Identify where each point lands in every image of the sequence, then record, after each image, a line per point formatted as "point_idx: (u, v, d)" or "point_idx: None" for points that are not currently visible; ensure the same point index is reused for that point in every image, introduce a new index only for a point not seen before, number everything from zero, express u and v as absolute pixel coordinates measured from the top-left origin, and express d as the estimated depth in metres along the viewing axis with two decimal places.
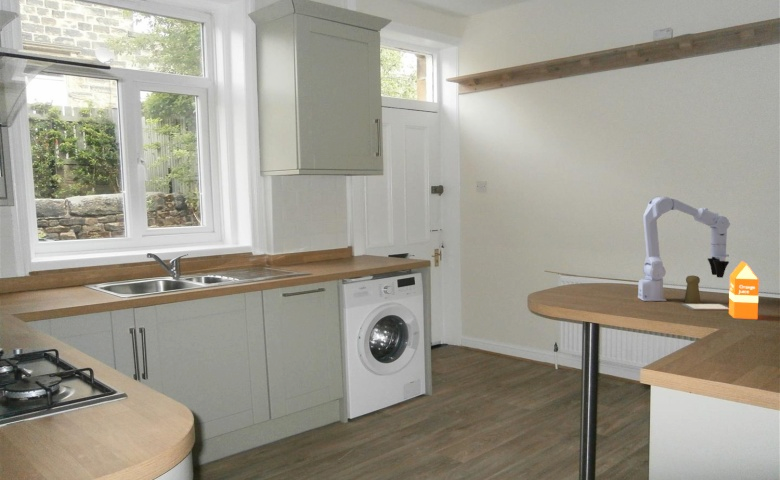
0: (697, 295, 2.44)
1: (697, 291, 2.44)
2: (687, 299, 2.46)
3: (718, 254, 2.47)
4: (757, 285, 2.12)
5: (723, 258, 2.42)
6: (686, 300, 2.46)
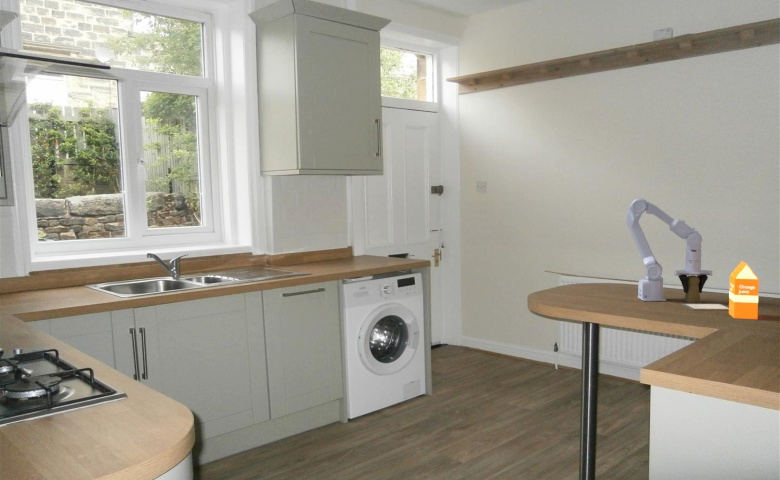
0: (697, 295, 2.44)
1: (697, 291, 2.44)
2: (687, 299, 2.46)
3: None
4: (757, 285, 2.12)
5: (675, 272, 2.46)
6: (686, 300, 2.46)
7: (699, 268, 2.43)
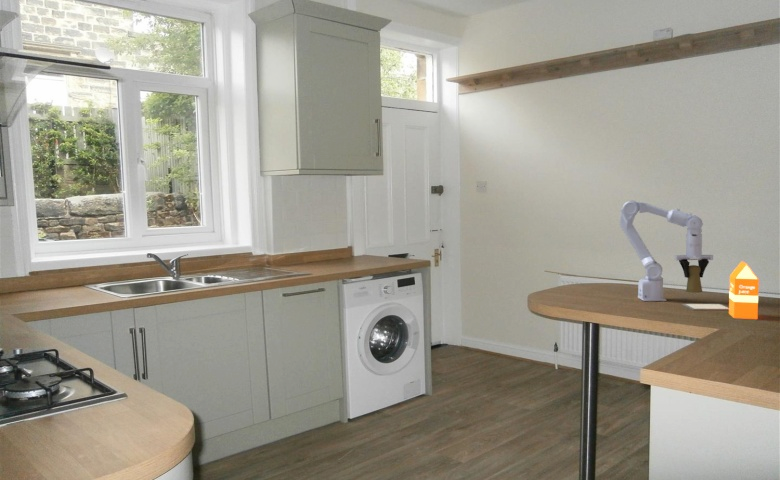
0: (698, 284, 2.43)
1: (698, 280, 2.43)
2: (688, 289, 2.45)
3: (686, 254, 2.46)
4: (757, 285, 2.12)
5: (675, 257, 2.46)
6: (688, 290, 2.45)
7: (700, 252, 2.42)
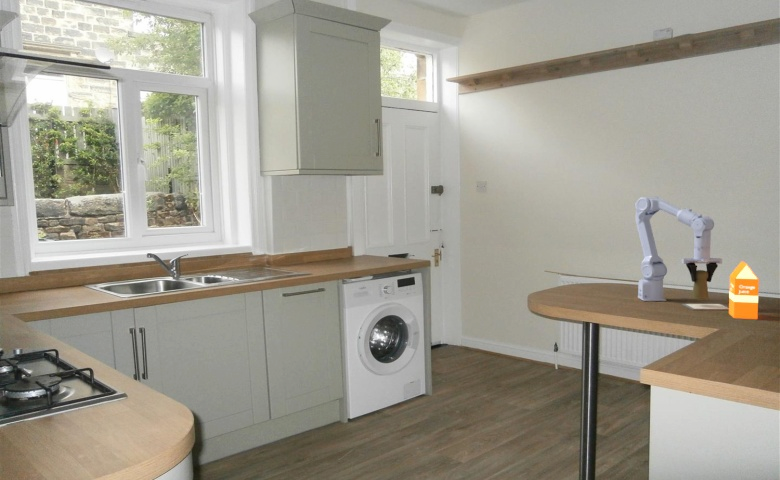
0: (705, 291, 2.33)
1: (705, 287, 2.33)
2: (694, 295, 2.35)
3: None
4: (757, 285, 2.12)
5: (682, 260, 2.34)
6: (693, 296, 2.35)
7: (708, 256, 2.31)
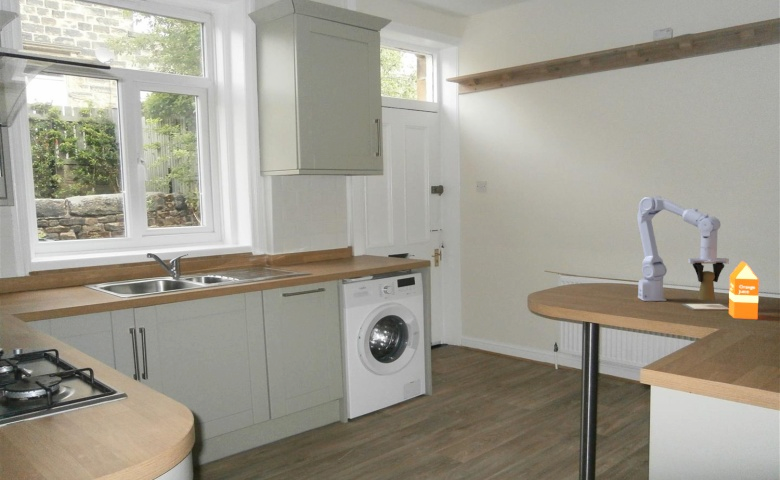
0: (711, 292, 2.32)
1: (711, 288, 2.32)
2: (700, 296, 2.34)
3: (700, 257, 2.34)
4: (757, 285, 2.12)
5: (689, 260, 2.34)
6: (699, 297, 2.35)
7: (715, 256, 2.31)
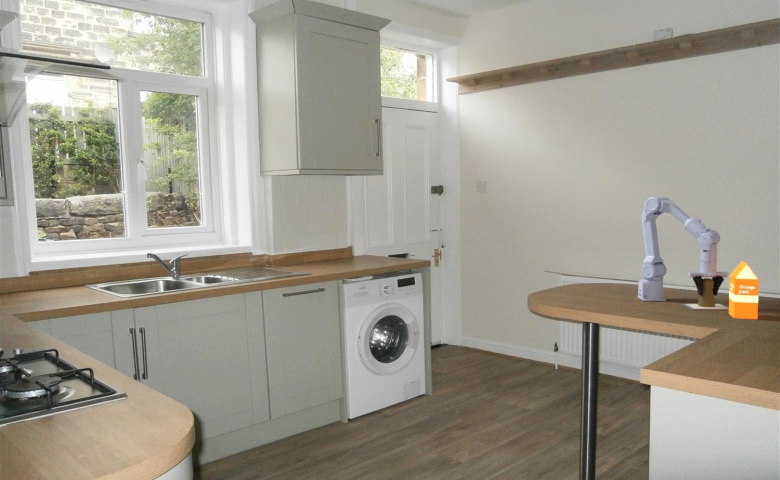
0: (711, 299, 2.33)
1: (711, 295, 2.33)
2: (700, 303, 2.35)
3: (700, 271, 2.34)
4: (757, 285, 2.12)
5: (689, 274, 2.34)
6: (699, 304, 2.35)
7: (715, 269, 2.31)
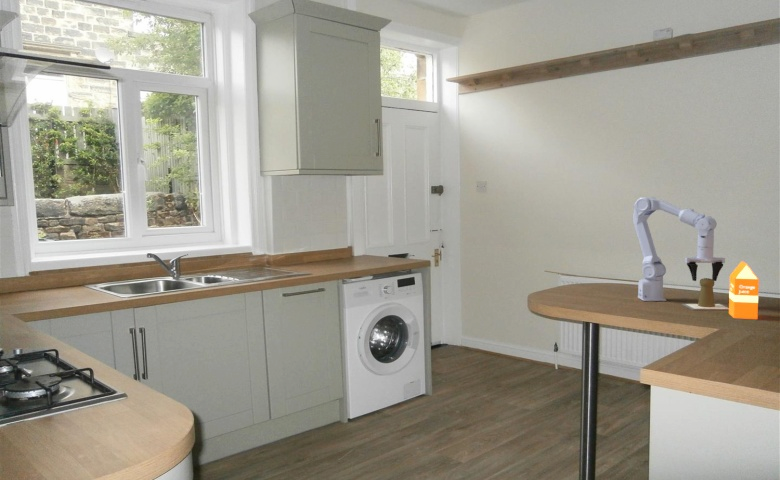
0: (711, 299, 2.33)
1: (711, 295, 2.33)
2: (700, 303, 2.35)
3: (697, 256, 2.37)
4: (757, 285, 2.12)
5: (686, 260, 2.37)
6: (699, 304, 2.35)
7: (711, 255, 2.34)
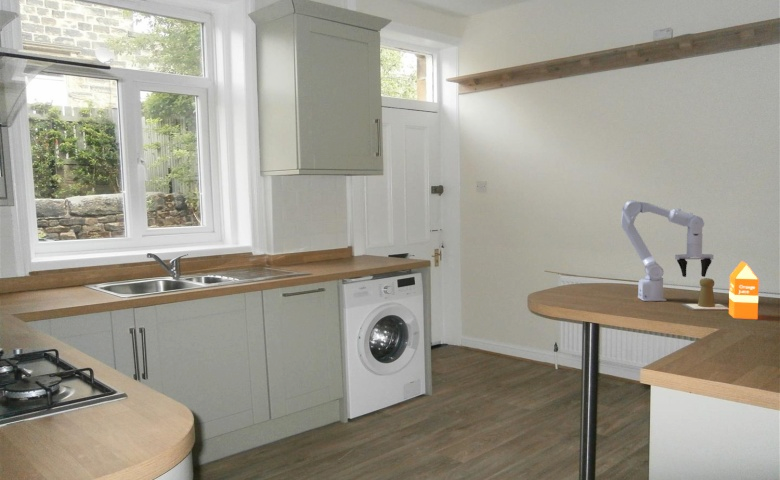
0: (711, 299, 2.33)
1: (711, 295, 2.33)
2: (700, 303, 2.35)
3: None
4: (757, 285, 2.12)
5: (676, 256, 2.48)
6: (699, 304, 2.35)
7: (700, 252, 2.44)
